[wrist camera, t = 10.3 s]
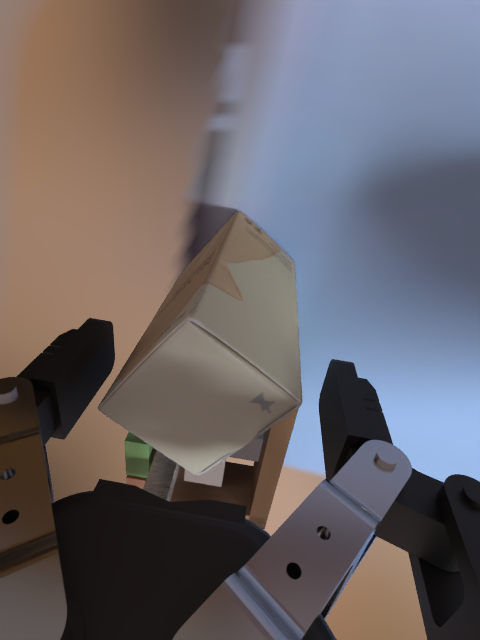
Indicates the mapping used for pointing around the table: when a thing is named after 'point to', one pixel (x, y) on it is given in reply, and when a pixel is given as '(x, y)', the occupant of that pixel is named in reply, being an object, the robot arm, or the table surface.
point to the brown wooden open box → (238, 480)
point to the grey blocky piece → (167, 471)
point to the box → (216, 353)
